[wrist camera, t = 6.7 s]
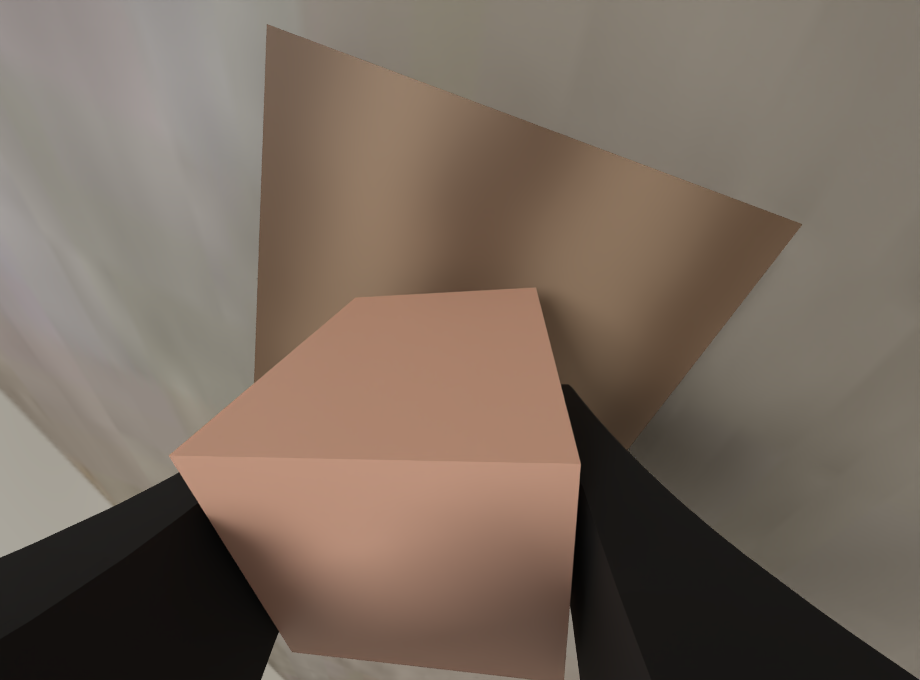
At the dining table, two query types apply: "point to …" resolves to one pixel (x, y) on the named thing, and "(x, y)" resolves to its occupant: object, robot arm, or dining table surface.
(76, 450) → the dining table surface
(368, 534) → the terracotta block
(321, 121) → the walnut base
